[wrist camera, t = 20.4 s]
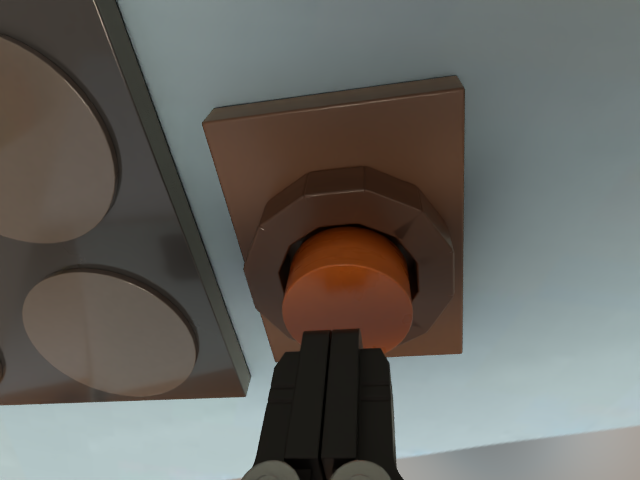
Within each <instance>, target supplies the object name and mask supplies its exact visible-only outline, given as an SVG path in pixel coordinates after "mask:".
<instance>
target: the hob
mask: <svg viewBox="0 0 640 480" xmlns="http://www.w3.org/2000/svg"><path fill="white" fill-rule="evenodd" d="M250 378H251V377H250V374H249V371H248V368H247V366H246V363H245V360H244V357H243V354H242V352H241V349H240V346H239V343H238V341H237V338H236V335H235V332H234V329H233V327H232V324H231V321H230V318H229V316H228V313H227V310H226V307H225V304H224V302H223V299H222V296H221V293H220V290H219V288H218V285H217V282H216V279H215V277H214V274H213V271H212V268H211V265H210V263H209V260H208V257H207V254H206V252H205V249H204V246H203V243H202V240H201V238H200V235H199V232H198V229H197V226H196V224H195V221H194V218H193V215H192V213H191V210H190V207H189V204H188V201H187V199H186V196H185V193H184V190H183V188H182V185H181V182H180V179H179V176H178V174H177V171H176V168H175V165H174V162H173V160H172V157H171V154H170V151H169V149H168V146H167V143H166V140H165V137H164V135H163V132H162V129H161V126H160V124H159V121H158V118H157V115H156V112H155V110H154V107H153V104H152V101H151V98H150V96H149V93H148V90H147V87H146V85H145V82H144V79H143V76H142V73H141V71H140V68H139V65H138V62H137V60H136V57H135V54H134V51H133V48H132V46H131V43H130V40H129V37H128V34H127V32H126V29H125V26H124V23H123V21H122V18H121V15H120V12H119V9H118V7H117V4H116V1H115V0H0V405H25V404H54V403H83V402H112V401H141V400H171V399H200V398H229V397H246V394H247V390H248V386H249V382H250Z"/></svg>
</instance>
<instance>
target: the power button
mask: <svg viewBox="0 0 640 480" xmlns="http://www.w3.org/2000/svg"><path fill="white" fill-rule="evenodd" d="M282 316H283V320H284V323H285V326H286V328H287V330H288V331H289V333H290V334H291V336H292V337H293V338H294V339H295V340H296V341H297V342H298V343H299V344H300V345H301V342H302V336H303V332H304V331H315V330H334V329H355V328H360V330H361V337H362V344H363V349H364V348H381V350H382V351H383V353H384V354H385V353H387V352H389V351H390V350H392V349H393V348H395V347H396V346H397V345H398V344H399V343H401V342H402V340H403V339H404V338H405V337H406V335H407V333H408V332H409V330H410V327H411V325H412V320H413V307H412V299H411V290H410V282H409V273H408V267H407V263H406V260H405V258H404V256H403V254H402V253H401V251H400V250H399V249H398V247H397V246H396V245H395V244H394V243H393V242H391V241H390V240H389V239H388V238H386V237H384V236H383V235H381V234H379V233H377V232H374V231H372V230H369V229H365V228H360V227H351V226H346V227H335V228H331V229H327V230H324V231H321V232H319V233H317V234H315V235H313V236H311V237H310V238H309V239H307V240H306V241H305V242H304V243H303V244H302V245H301V246H300V247H299V248H298V250H297V251H296V253H295V255H294V257H293V260H292V262H291V267H290V271H289V276H288V280H287V285H286V289H285V294H284V298H283V304H282Z"/></svg>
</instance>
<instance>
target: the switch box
mask: <svg viewBox="0 0 640 480" xmlns="http://www.w3.org/2000/svg"><path fill="white" fill-rule="evenodd" d="M202 126H203V129H204V132H205V136H206V139H207V142H208V145H209V149H210V152H211V155H212V158H213V161H214V165H215V168H216V171H217V174H218V178H219V181H220V184H221V187H222V191H223V194H224V197H225V200H226V204H227V207H228V210H229V213H230V217H231V220H232V223H233V226H234V230H235V233H236V236H237V239H238V243H239V246H240V249H241V252H242V256H243V259H244V262H245V263H244V268H243V270H244V273H245V276H246V279H247V282H248V286H249V289H250V292H251V295H252V298H253V302H254V305H255V308H256V309H257V310H258V311H259V312H260V314H261V317H262V320H263V324H264V327H265V330H266V333H267V337H268V340H269V343H270V346H271V350H272V353H273V356H274V359H275V362H279V360H280V359H281V357H282V356H283V354H284V353H285V352H292V351H300V348H301V345H300V344H299V343H298V342H297V341H296V340H295V339H294V338H293V337H292V336H291V334H290V333H289V331H288V330H287V328H286V326H285V323H284V320H283V316H282V304H283V298H284V294H285V289H286V285H287V280H288V276H289V271H290V267H291V262H292V260H293V257H294V255H295V253H296V251H297V250H298V248H299V247H300V246H301V245H302V244H303V243H304V242H305V241H306V240H307V239H309V238H310V237H311V236H313V235H315V234H317V233H319V232H321V231H324V230H327V229H331V228H335V227H346V226H351V227H360V228H365V229H369V230H372V231H374V232H377V233H379V234H381V235H383V236H384V237H386V238H388V239H389V240H390V241H391V242H393V243H394V244H395V245H396V246H397V247H398V249H399V250H400V251H401V253H402V254H403V256H404V258H405V260H406V263H407V267H408V273H409V282H410V290H411V299H412V307H413V320H412V325H411V327H410V330H409V332H408V333H407V335H406V337H405V338H404V339H403V340H402V342H401V343H399V344H398V345H397V346H396V347H395V348H393V349H392V350H390V351H389V352H387V353H385V354H384V355H385V357H402V356H423V355H445V354H461V353H462V344H463V240H464V135H465V89H464V87H463V85H462V83H461V82H460V80H459V78H458V77H457V76H448V77H441V78H434V79H426V80H419V81H412V82H404V83H397V84H390V85H382V86H375V87H368V88H360V89H353V90H346V91H339V92H331V93H324V94H317V95H309V96H302V97H295V98H287V99H280V100H273V101H266V102H258V103H251V104H244V105H236V106H229V107H222V108H214V109H213V110H212V111H211V112H210V114H209V115H208V116H207V117H206V118H205V120H204V121H203V122H202Z"/></svg>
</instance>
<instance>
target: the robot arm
mask: <svg viewBox="0 0 640 480" xmlns="http://www.w3.org/2000/svg"><path fill="white" fill-rule="evenodd" d="M241 480H403V478H402V477H401V476H400V474H399V472H398V470H397V467H396V447H395V428H394V408H393V394H392V384H391V374H390V364H389V362H388V360H387V358H386V357H385V355H384V353H383V351H382V350H381V348H364V349H363V344H362V337H361V330H360V328H355V329H334V330H315V331H304V332H303V336H302V342H301V348H300V351H292V352H285V353H284V354H283V356H282V357H281V359H280V360H279V362H278V363H277V365H276V366H275V368H274V372H273V377H272V382H271V389H270V392H269V397H268V403H267V406H266V411H265V416H264V421H263V426H262V431H261V435H260V440H259V445H258V450H257V455H256V459H255V462H254V464H253V467H252V468H251V469H250V470H249V471H248V472H247V473H246V474H245V475H244V477H243V478H242V479H241Z"/></svg>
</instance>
